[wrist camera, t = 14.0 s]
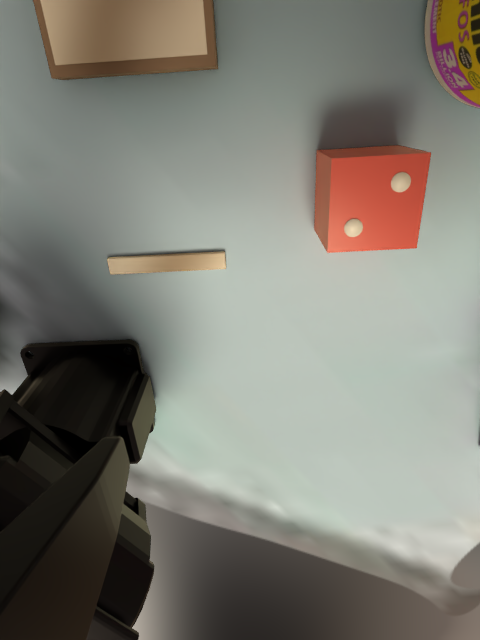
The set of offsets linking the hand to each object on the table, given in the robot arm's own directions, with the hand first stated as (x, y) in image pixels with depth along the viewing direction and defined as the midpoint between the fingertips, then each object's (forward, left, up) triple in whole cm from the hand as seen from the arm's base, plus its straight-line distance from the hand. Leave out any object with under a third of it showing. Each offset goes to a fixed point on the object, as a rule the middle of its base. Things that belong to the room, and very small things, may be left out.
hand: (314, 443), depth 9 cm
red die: (+3, +3, -12) cm, 13 cm away
